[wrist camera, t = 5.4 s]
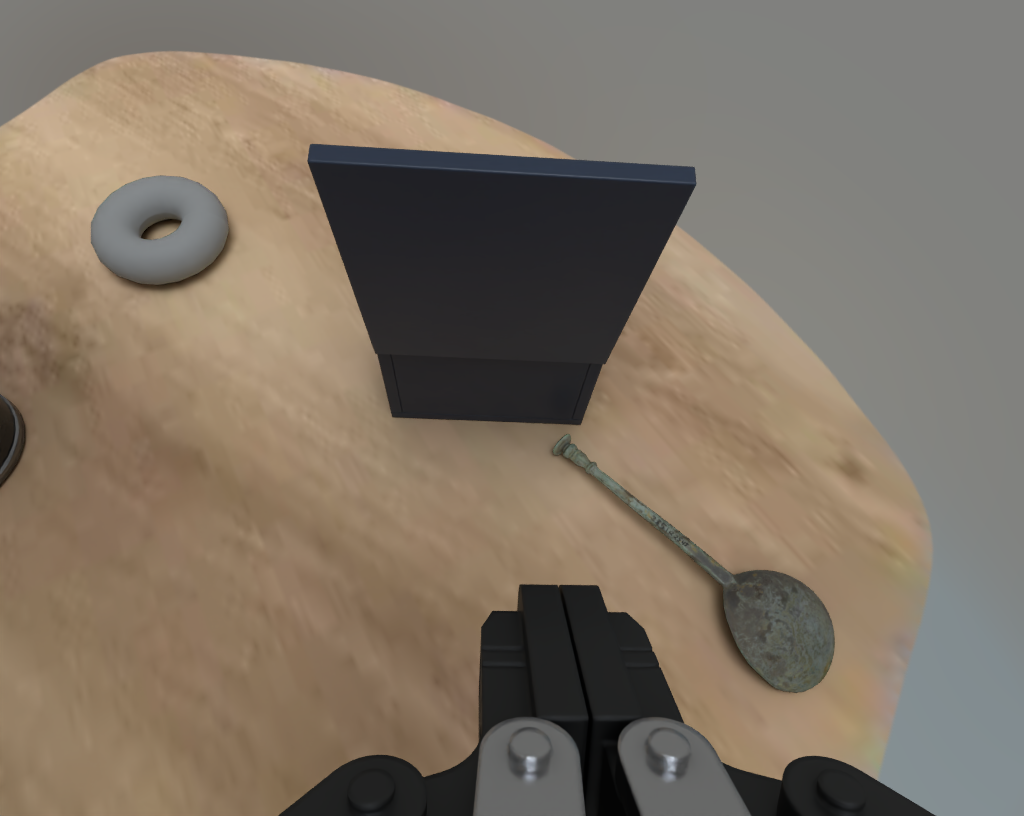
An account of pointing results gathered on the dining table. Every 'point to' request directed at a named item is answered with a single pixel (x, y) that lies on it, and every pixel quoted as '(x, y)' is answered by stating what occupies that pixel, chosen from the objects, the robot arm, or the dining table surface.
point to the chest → (488, 388)
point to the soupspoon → (751, 603)
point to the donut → (172, 254)
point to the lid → (496, 248)
